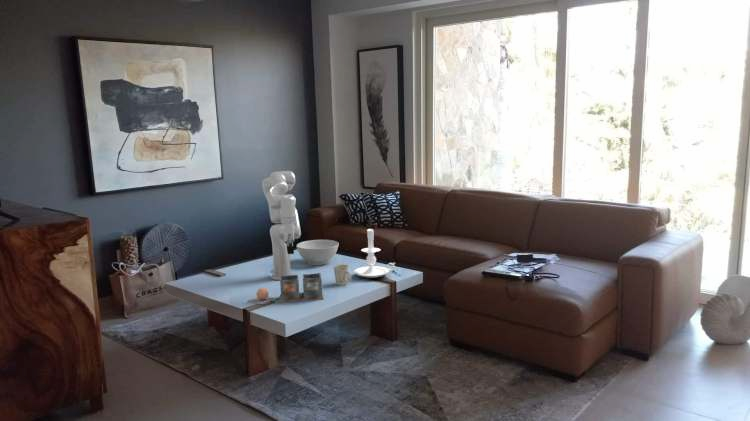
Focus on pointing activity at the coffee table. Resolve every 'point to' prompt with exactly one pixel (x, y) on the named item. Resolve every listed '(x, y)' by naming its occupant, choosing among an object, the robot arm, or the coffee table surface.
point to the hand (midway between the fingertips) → (290, 252)
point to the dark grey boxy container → (310, 288)
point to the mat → (262, 300)
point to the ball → (262, 293)
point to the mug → (342, 274)
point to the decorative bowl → (317, 251)
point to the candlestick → (372, 261)
